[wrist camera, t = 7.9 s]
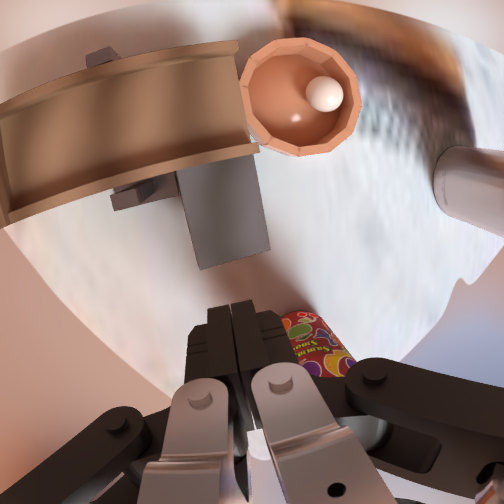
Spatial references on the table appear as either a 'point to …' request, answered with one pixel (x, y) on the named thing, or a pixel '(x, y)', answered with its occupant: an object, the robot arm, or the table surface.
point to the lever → (141, 143)
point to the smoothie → (316, 345)
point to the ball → (324, 93)
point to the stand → (140, 189)
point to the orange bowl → (297, 97)
